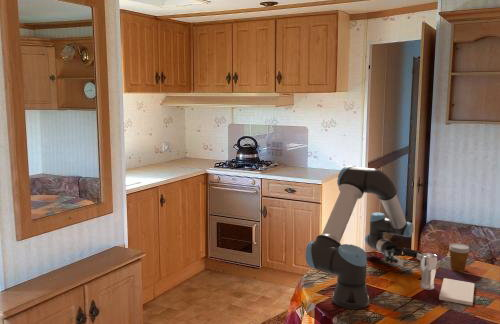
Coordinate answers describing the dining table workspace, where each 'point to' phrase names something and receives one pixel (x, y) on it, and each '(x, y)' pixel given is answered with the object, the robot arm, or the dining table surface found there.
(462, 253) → the disposable coffee cup
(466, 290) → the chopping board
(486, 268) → the dining table surface
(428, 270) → the beer glass
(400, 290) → the dining table surface
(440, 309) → the dining table surface
